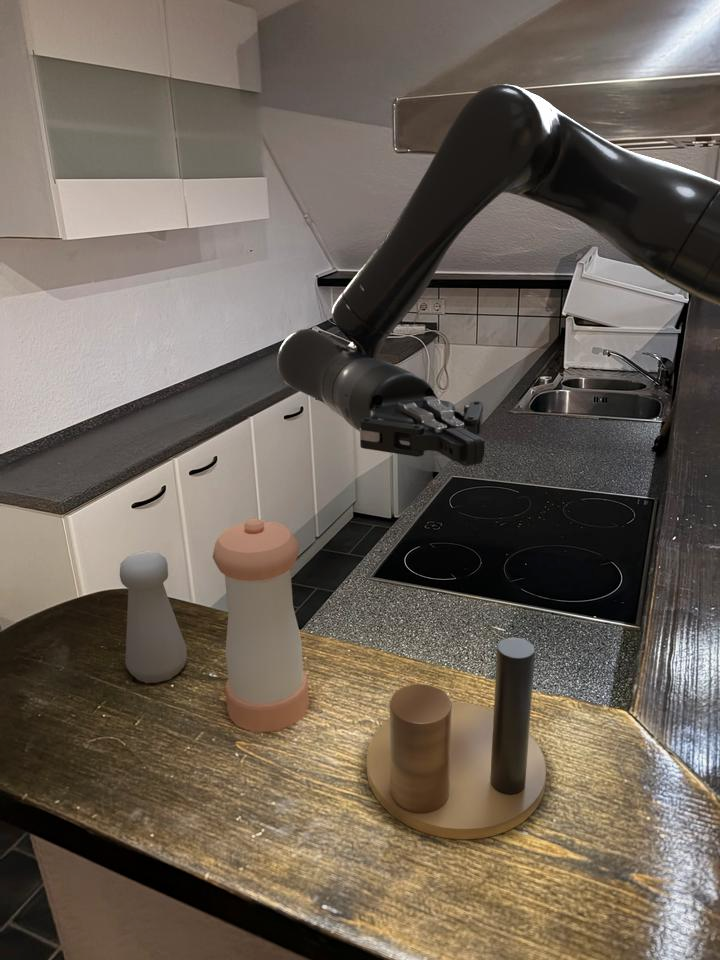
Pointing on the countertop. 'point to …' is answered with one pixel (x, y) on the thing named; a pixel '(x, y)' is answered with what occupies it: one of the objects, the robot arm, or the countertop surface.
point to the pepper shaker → (261, 626)
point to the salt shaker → (150, 620)
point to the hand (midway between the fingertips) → (475, 453)
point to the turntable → (461, 755)
